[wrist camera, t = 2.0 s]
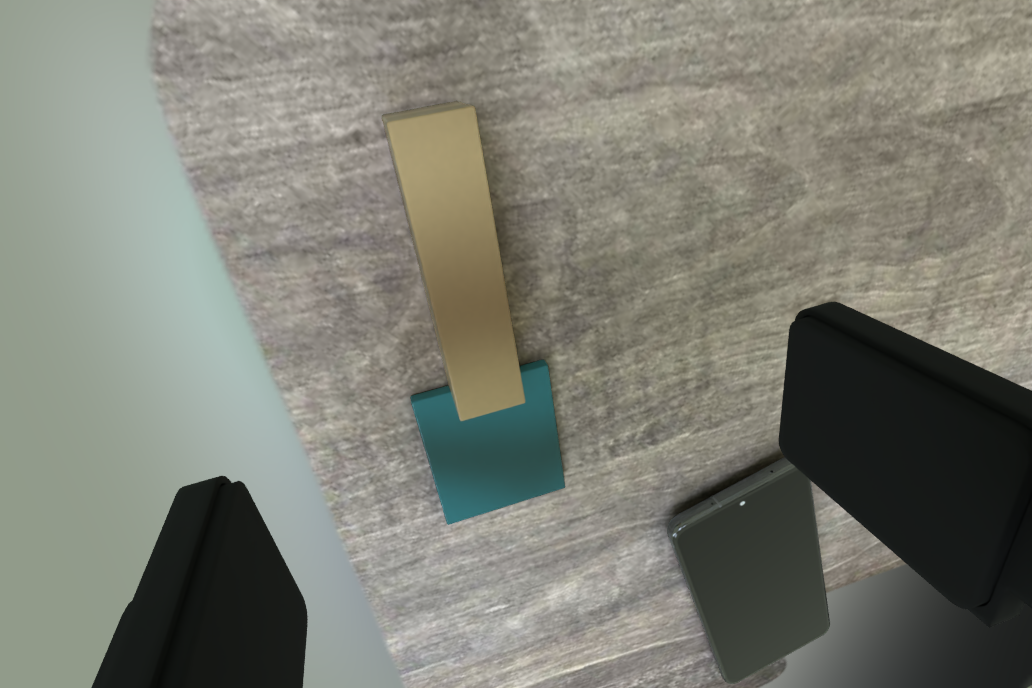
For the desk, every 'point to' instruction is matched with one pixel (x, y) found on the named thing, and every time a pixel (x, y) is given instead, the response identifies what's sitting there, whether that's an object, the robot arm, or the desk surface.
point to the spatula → (470, 324)
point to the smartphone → (754, 569)
